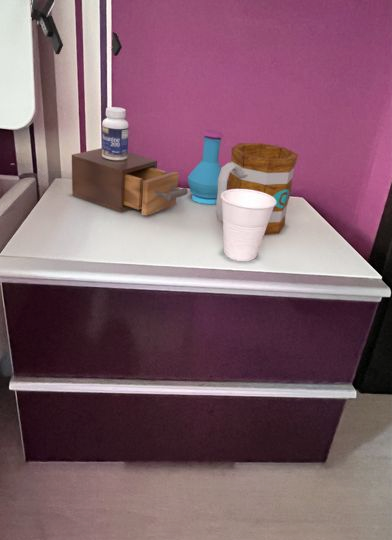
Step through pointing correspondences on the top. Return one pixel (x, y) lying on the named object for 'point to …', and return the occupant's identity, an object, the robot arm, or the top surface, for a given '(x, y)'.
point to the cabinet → (104, 177)
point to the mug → (260, 177)
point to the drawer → (151, 190)
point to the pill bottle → (115, 134)
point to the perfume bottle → (207, 170)
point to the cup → (245, 222)
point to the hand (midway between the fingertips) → (89, 50)
